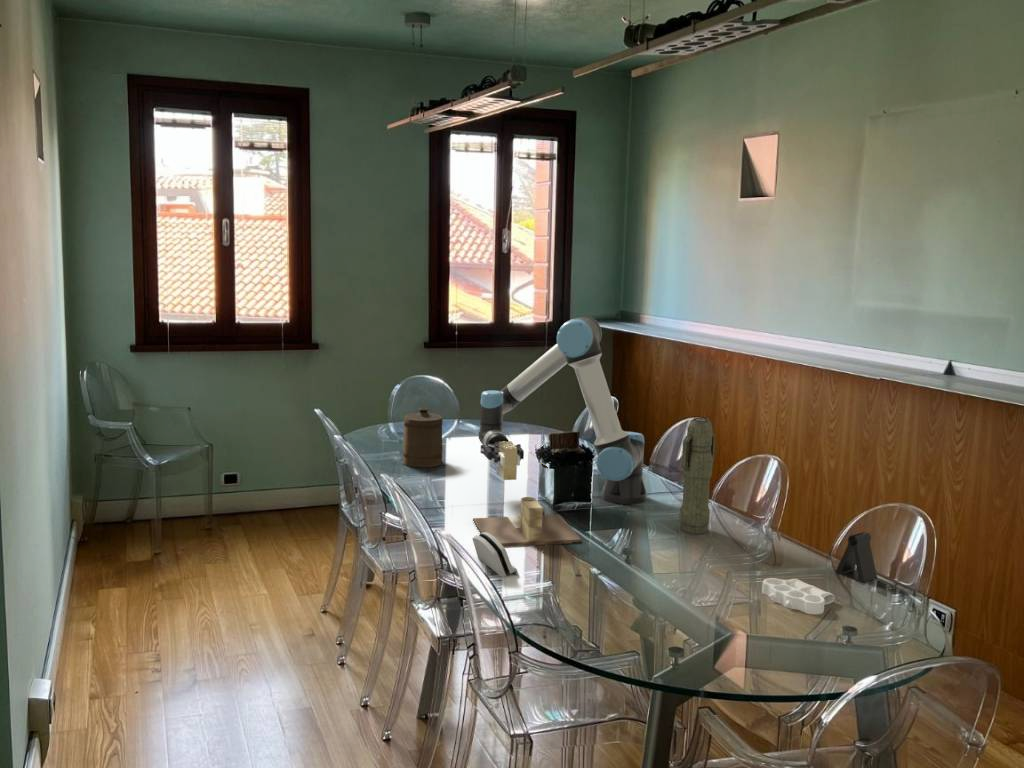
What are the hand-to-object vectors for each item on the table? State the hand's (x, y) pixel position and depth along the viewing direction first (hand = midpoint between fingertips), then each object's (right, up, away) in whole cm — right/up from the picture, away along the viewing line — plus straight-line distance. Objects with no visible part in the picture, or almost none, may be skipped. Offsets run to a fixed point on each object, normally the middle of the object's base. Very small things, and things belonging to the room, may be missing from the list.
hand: (511, 461), depth 297 cm
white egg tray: (+73, -32, -51) cm, 94 cm away
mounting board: (+4, -21, -4) cm, 22 cm away
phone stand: (+94, -29, -33) cm, 104 cm away
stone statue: (+56, -22, +2) cm, 60 cm away
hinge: (-5, -26, -33) cm, 43 cm away
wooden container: (-34, -7, +73) cm, 81 cm away
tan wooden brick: (-1, -5, +6) cm, 8 cm away
